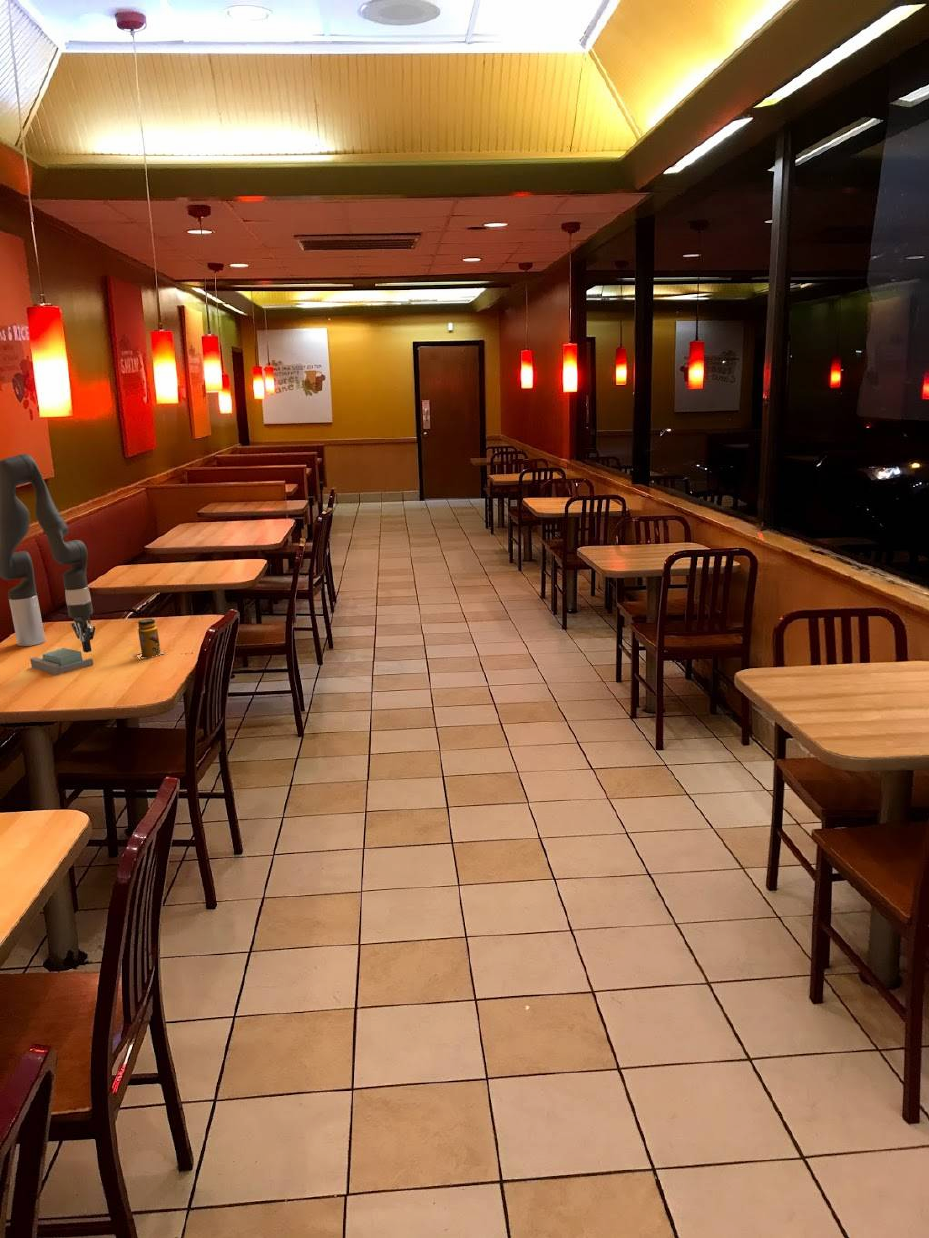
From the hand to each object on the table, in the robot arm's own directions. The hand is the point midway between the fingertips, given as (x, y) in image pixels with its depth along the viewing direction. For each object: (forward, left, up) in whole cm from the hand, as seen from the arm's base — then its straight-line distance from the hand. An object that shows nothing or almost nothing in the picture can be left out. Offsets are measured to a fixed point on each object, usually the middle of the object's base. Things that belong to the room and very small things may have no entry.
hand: (87, 651), depth 309 cm
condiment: (+15, +14, -3) cm, 20 cm away
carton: (+1, -9, -3) cm, 10 cm away
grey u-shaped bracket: (0, -9, -2) cm, 9 cm away
